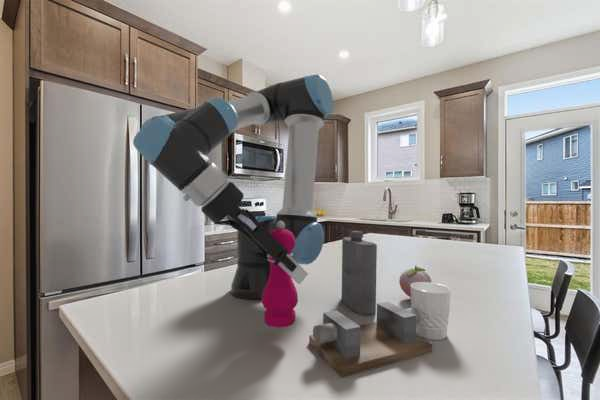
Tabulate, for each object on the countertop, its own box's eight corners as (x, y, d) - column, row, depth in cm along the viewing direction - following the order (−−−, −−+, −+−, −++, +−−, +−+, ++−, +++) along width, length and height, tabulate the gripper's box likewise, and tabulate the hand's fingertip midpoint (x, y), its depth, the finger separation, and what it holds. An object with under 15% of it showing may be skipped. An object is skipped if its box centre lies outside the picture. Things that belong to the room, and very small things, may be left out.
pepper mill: (299, 314, 62) (300, 219, 61) (295, 329, 54) (296, 223, 54) (265, 312, 62) (266, 219, 62) (257, 327, 55) (258, 222, 55)
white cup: (447, 345, 58) (448, 295, 57) (406, 335, 62) (407, 288, 62) (451, 330, 64) (452, 285, 64) (413, 322, 68) (414, 279, 68)
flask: (336, 296, 86) (337, 228, 86) (355, 295, 87) (356, 228, 87) (357, 316, 71) (358, 235, 71) (379, 314, 72) (380, 234, 72)
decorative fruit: (405, 292, 90) (406, 260, 90) (433, 298, 85) (434, 264, 85) (394, 300, 83) (394, 265, 83) (424, 307, 78) (424, 270, 78)
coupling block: (302, 344, 57) (302, 311, 57) (393, 325, 67) (394, 296, 67) (333, 379, 46) (334, 338, 46) (437, 350, 56) (438, 316, 56)
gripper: (195, 207, 60) (270, 277, 67) (204, 211, 43) (304, 305, 50) (221, 181, 62) (292, 252, 69) (240, 177, 45) (330, 271, 52)
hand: (297, 274), depth 60 cm, fingers closed on pepper mill, 5 cm apart
